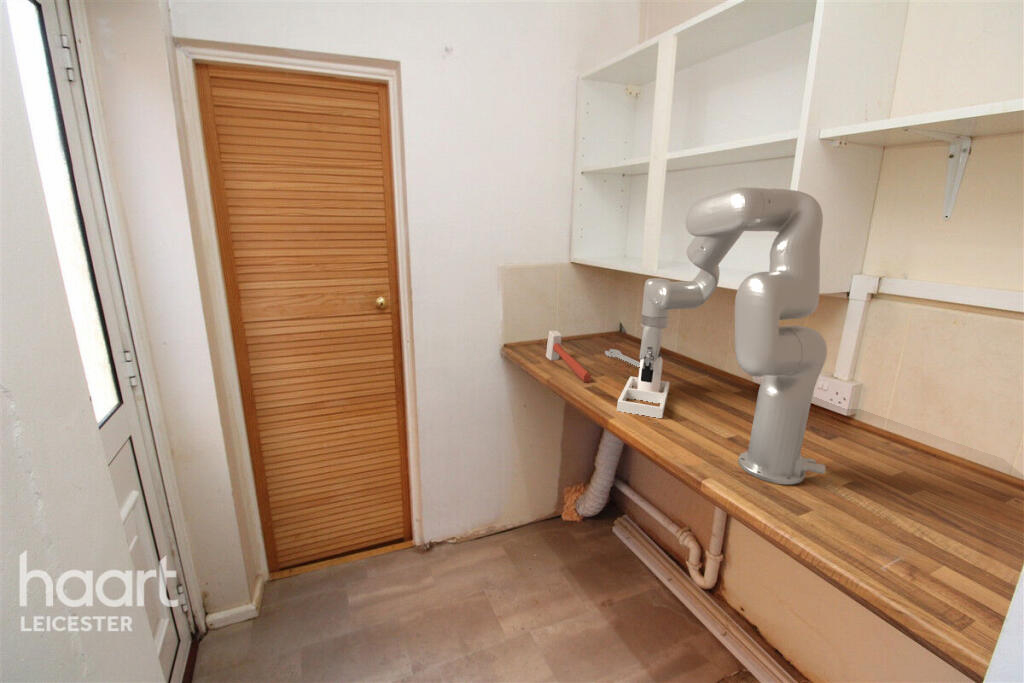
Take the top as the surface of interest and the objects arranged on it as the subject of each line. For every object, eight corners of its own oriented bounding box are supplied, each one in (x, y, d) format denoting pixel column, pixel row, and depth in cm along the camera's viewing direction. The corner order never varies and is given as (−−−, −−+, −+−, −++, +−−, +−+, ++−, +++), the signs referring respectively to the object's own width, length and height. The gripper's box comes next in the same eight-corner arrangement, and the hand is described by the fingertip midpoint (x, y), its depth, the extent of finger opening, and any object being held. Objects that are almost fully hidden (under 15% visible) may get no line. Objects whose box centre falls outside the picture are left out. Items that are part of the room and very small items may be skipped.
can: (634, 388, 146) (637, 351, 143) (654, 388, 147) (658, 351, 144) (641, 396, 140) (645, 357, 137) (662, 395, 141) (666, 357, 137)
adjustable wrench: (654, 372, 164) (654, 367, 164) (638, 374, 162) (639, 369, 162) (615, 352, 187) (615, 348, 186) (601, 353, 185) (601, 349, 184)
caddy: (668, 391, 145) (669, 382, 144) (661, 419, 124) (663, 408, 124) (629, 385, 149) (630, 376, 149) (616, 411, 129) (617, 401, 128)
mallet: (594, 365, 149) (557, 329, 174) (584, 366, 147) (548, 330, 173) (589, 394, 153) (554, 355, 179) (580, 395, 152) (545, 356, 178)
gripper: (644, 314, 145) (639, 366, 149) (637, 325, 130) (631, 383, 134) (670, 317, 142) (663, 370, 147) (665, 328, 127) (658, 387, 131)
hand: (648, 376), depth 140 cm, fingers open, 9 cm apart
